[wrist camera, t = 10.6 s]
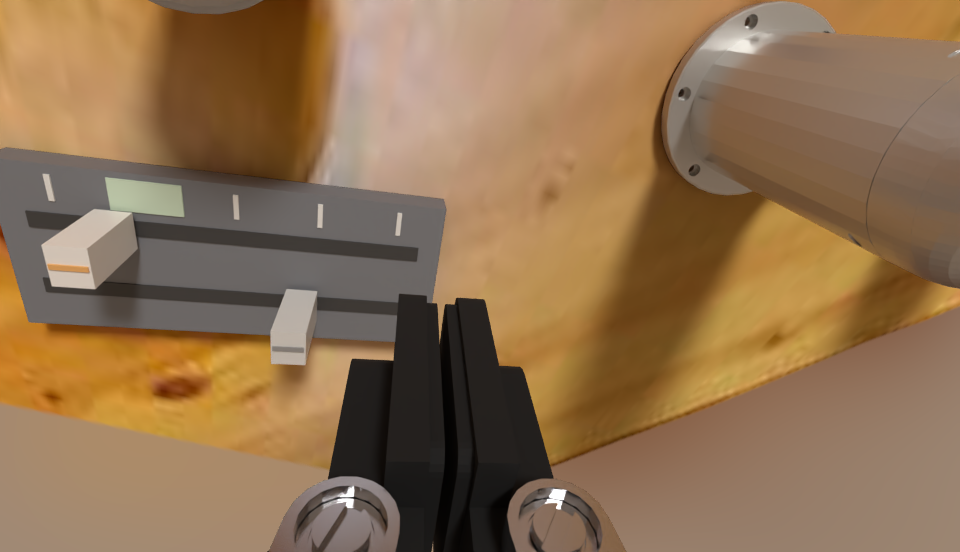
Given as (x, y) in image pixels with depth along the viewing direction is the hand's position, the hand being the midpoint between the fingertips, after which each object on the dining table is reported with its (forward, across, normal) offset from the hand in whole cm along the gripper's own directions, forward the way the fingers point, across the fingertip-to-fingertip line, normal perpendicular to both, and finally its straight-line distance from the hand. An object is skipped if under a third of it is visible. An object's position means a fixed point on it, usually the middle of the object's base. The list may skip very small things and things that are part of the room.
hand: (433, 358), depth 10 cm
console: (+24, +11, +11) cm, 29 cm away
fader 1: (+22, +18, +8) cm, 29 cm away
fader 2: (+22, +7, +13) cm, 27 cm away
